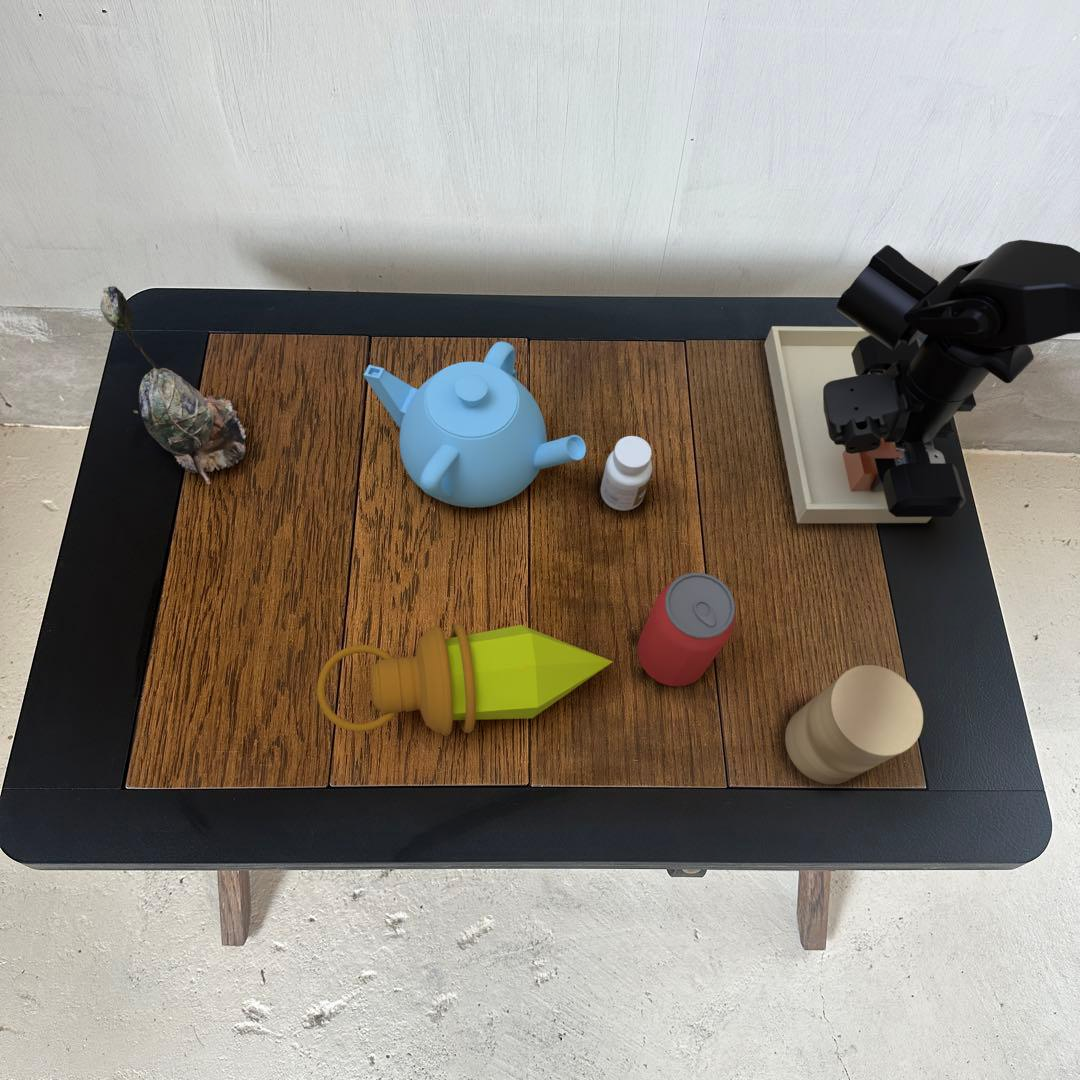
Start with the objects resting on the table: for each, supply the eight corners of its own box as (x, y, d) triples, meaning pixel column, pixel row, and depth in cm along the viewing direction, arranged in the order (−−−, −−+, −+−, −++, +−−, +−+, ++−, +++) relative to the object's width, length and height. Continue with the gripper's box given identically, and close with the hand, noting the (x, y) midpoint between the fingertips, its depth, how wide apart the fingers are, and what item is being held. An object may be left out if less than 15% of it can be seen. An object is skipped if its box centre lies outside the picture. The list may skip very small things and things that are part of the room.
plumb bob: (592, 617, 79) (316, 644, 73) (620, 600, 71) (310, 630, 65) (606, 715, 77) (323, 751, 71) (637, 711, 69) (318, 751, 63)
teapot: (442, 556, 81) (435, 498, 71) (371, 420, 87) (355, 349, 77) (583, 494, 84) (595, 431, 74) (505, 368, 91) (506, 294, 81)
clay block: (894, 491, 86) (909, 473, 82) (850, 491, 85) (864, 473, 82) (884, 453, 88) (899, 434, 84) (842, 453, 87) (855, 434, 84)
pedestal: (872, 722, 75) (931, 685, 65) (854, 797, 72) (913, 770, 62) (796, 692, 76) (843, 650, 66) (775, 765, 73) (821, 733, 63)
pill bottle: (644, 512, 84) (658, 472, 77) (600, 511, 84) (610, 470, 77) (643, 474, 86) (656, 431, 79) (599, 472, 86) (609, 429, 79)
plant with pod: (156, 496, 82) (61, 367, 64) (173, 399, 87) (90, 255, 69) (242, 495, 83) (171, 366, 65) (254, 399, 88) (192, 255, 70)
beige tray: (926, 523, 85) (940, 508, 82) (797, 523, 84) (806, 509, 81) (880, 344, 95) (891, 326, 92) (764, 344, 94) (771, 325, 91)
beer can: (660, 701, 75) (687, 657, 65) (623, 638, 78) (643, 586, 67) (721, 669, 77) (758, 621, 66) (683, 608, 79) (713, 553, 69)
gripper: (829, 289, 76) (778, 393, 90) (871, 468, 67) (807, 553, 81) (951, 290, 76) (880, 394, 90) (1007, 468, 68) (920, 552, 82)
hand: (870, 469), depth 86 cm, fingers closed on clay block, 4 cm apart
